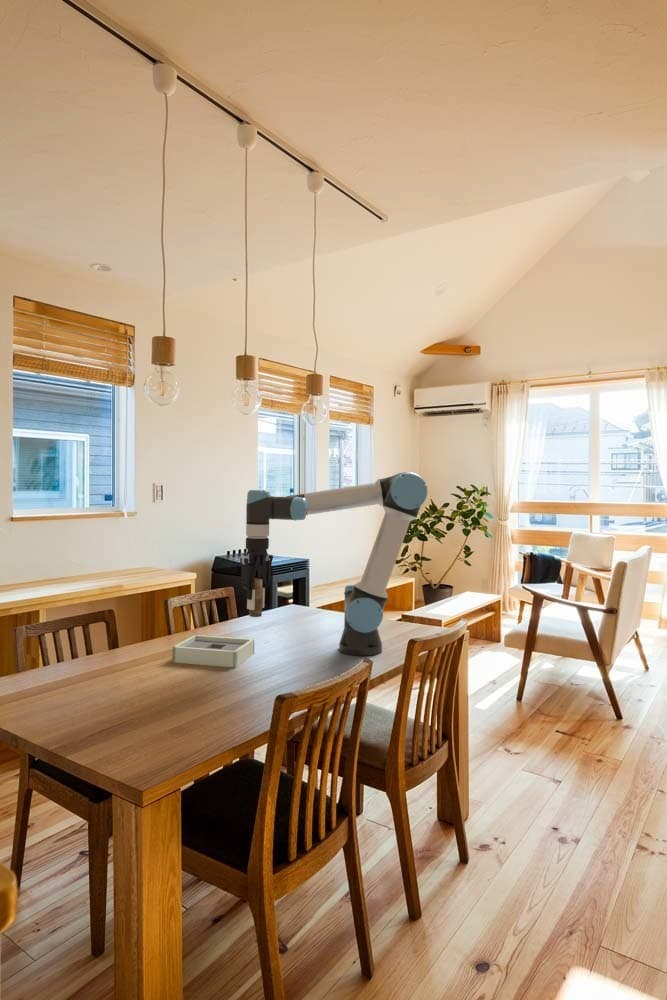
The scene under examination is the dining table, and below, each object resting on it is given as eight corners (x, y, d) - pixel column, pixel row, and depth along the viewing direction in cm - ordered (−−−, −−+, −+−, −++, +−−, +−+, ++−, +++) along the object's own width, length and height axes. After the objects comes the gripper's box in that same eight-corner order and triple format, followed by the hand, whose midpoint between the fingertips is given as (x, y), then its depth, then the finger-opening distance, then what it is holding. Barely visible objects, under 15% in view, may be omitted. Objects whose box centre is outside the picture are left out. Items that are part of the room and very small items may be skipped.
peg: (264, 615, 200) (265, 579, 199) (255, 617, 196) (256, 580, 196) (255, 613, 202) (256, 577, 202) (246, 615, 199) (247, 579, 198)
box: (254, 653, 207) (254, 639, 207) (235, 667, 191) (236, 652, 191) (195, 649, 212) (195, 634, 212) (172, 662, 197) (172, 647, 196)
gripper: (266, 534, 207) (264, 602, 208) (230, 537, 194) (228, 610, 195) (283, 536, 203) (281, 606, 204) (247, 539, 189) (245, 614, 190)
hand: (255, 608), depth 199 cm, fingers closed on peg, 4 cm apart
